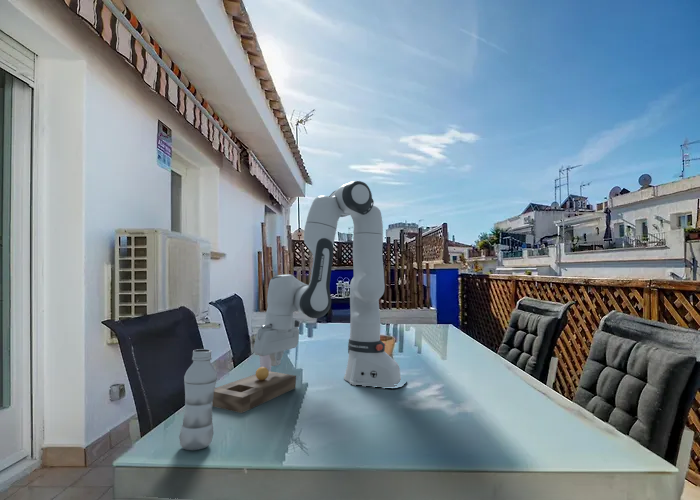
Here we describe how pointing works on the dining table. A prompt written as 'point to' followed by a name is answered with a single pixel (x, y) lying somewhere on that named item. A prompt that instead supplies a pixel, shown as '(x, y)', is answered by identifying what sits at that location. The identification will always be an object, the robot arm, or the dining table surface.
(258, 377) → the ball
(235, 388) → the brown wooden holder
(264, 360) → the smoothie
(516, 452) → the dining table surface
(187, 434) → the plastic bottle
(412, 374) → the dining table surface
